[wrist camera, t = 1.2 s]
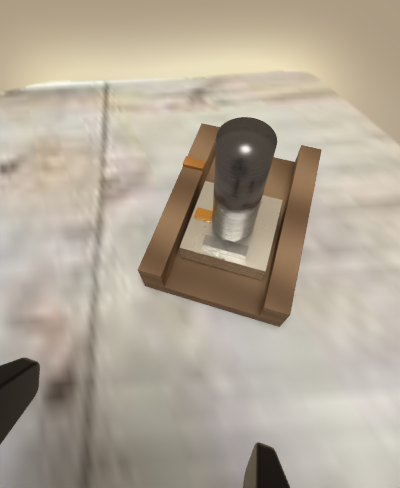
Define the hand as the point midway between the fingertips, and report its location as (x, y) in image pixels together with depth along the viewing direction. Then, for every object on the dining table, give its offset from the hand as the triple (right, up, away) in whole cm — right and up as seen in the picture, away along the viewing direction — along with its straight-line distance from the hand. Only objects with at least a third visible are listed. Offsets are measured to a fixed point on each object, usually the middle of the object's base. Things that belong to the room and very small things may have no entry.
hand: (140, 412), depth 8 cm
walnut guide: (+4, +6, +18) cm, 20 cm away
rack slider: (+4, +5, +17) cm, 18 cm away
